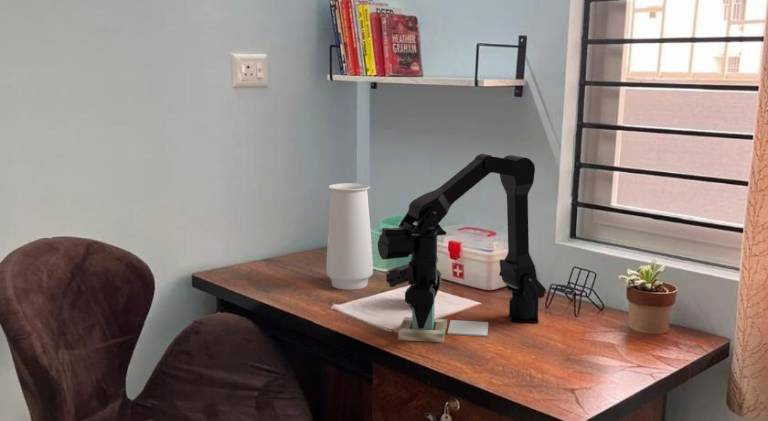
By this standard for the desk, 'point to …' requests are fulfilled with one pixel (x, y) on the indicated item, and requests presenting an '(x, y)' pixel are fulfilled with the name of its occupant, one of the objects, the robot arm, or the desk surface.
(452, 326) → the grey coaster
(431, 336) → the birch holder
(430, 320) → the teal block
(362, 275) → the vase
